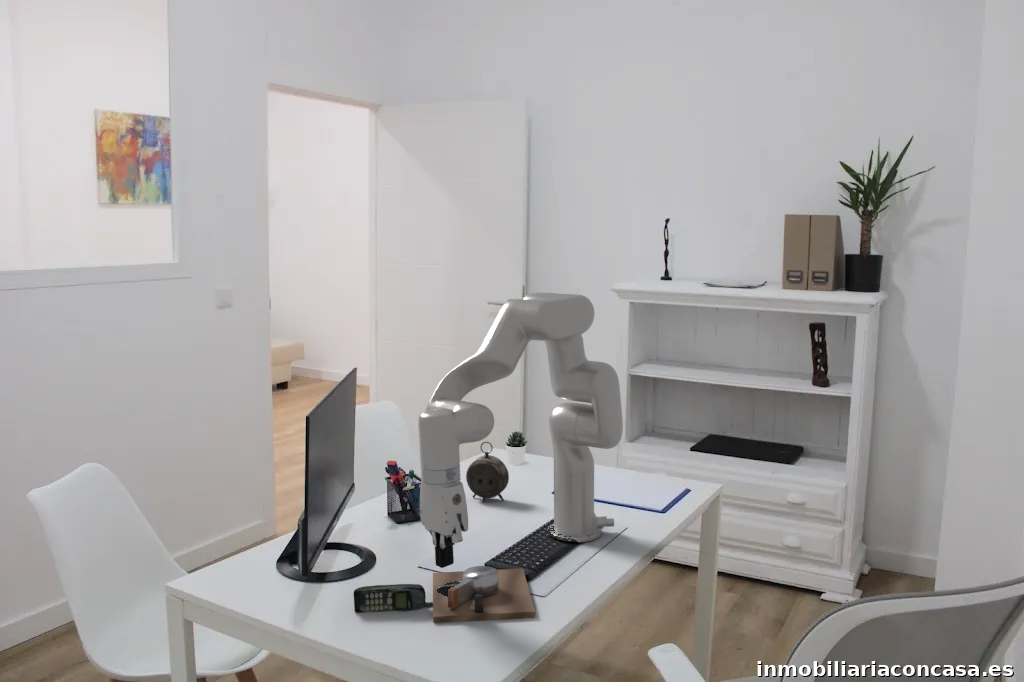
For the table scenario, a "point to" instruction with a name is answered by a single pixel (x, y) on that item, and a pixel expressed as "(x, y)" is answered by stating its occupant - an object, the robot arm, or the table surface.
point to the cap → (474, 585)
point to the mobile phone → (389, 598)
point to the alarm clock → (487, 476)
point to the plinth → (485, 599)
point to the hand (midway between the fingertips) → (444, 564)
